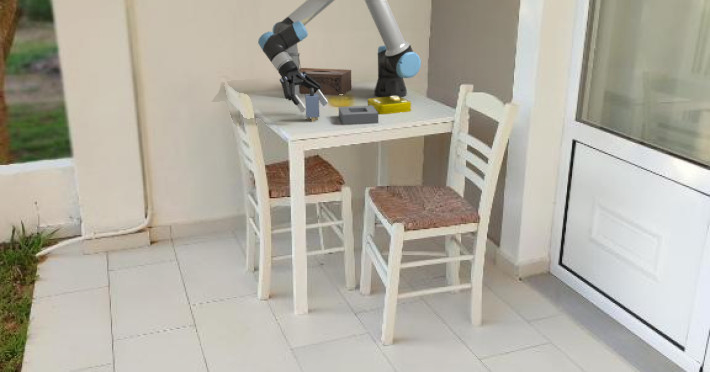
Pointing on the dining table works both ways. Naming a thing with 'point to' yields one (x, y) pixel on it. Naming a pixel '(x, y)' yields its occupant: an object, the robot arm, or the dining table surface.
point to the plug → (312, 105)
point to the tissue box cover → (329, 80)
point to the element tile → (390, 104)
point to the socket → (358, 115)
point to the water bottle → (295, 57)
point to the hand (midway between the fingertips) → (315, 107)
